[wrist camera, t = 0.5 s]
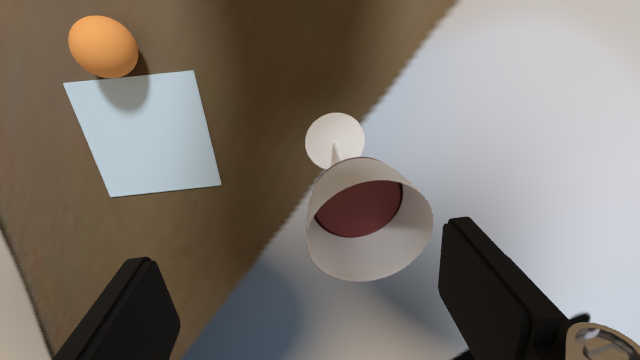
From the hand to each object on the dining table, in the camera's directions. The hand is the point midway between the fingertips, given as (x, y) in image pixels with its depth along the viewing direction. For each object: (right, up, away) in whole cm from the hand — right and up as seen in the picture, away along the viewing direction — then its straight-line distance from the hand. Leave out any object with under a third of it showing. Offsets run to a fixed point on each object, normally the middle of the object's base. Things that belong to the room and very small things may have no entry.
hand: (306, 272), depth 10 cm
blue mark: (-20, +8, +27) cm, 34 cm away
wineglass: (+2, +8, +29) cm, 30 cm away
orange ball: (-20, +16, +20) cm, 33 cm away
